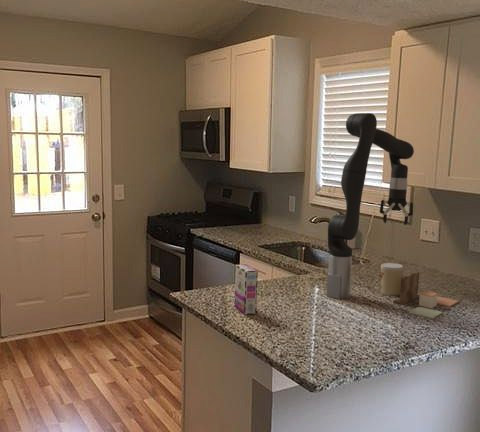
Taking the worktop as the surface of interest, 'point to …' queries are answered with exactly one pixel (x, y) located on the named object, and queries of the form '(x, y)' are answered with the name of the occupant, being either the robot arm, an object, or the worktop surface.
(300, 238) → the worktop surface
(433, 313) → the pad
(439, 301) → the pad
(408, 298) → the screen
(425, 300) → the block
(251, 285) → the candy bar box
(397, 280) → the coffee cup
